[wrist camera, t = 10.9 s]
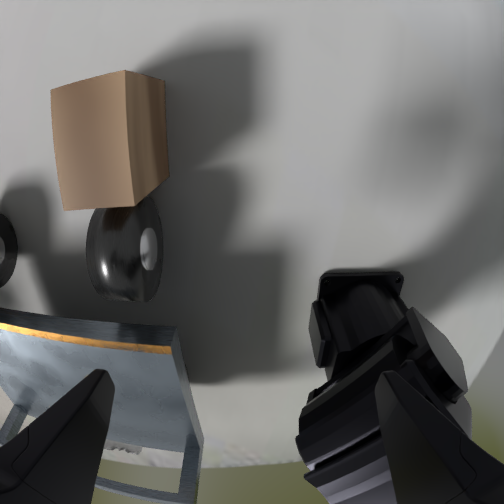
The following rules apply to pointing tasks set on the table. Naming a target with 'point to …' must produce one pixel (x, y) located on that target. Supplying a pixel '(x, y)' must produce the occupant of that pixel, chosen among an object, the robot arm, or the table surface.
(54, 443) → the robot arm
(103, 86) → the block
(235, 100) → the table surface
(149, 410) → the trolley
